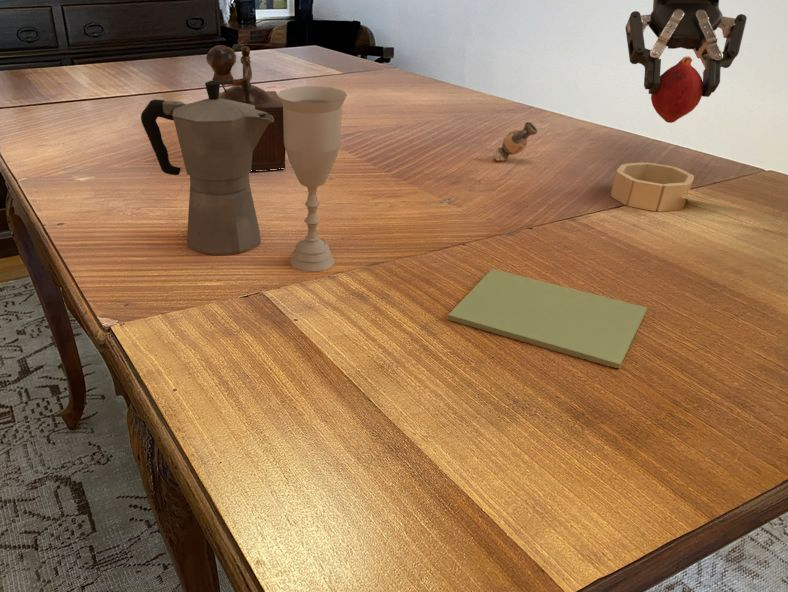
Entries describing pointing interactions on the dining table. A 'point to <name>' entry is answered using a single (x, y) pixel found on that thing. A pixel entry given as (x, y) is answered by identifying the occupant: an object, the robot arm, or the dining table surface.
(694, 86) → the onion
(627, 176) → the octagonal bowl
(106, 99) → the dining table surface
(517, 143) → the vase
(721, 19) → the robot arm
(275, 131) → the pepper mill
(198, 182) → the coffeepot
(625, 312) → the mat
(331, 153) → the chalice
